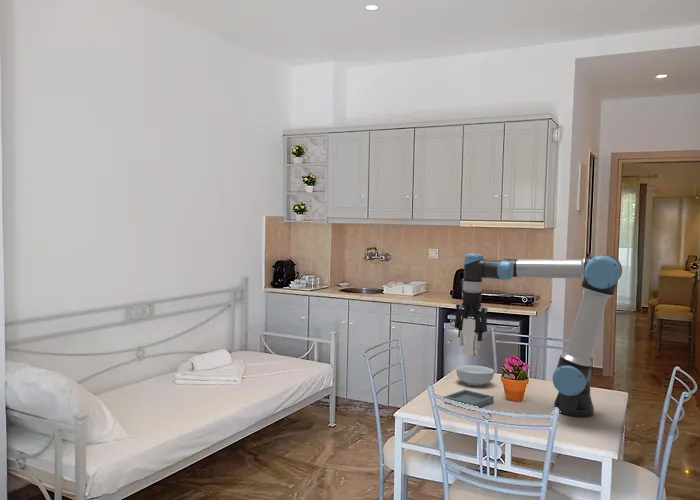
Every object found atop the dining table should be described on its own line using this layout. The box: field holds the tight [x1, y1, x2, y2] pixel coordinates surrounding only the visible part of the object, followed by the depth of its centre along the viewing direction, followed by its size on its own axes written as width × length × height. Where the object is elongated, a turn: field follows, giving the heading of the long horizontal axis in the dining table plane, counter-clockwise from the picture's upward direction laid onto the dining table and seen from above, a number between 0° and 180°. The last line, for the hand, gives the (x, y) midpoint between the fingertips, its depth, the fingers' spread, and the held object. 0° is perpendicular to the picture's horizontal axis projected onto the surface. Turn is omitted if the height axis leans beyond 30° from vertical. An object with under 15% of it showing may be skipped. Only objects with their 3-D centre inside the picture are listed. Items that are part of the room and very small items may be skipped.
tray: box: [443, 389, 495, 408], centre depth 252 cm, size 14×16×2 cm
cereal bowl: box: [456, 364, 495, 387], centre depth 282 cm, size 17×17×7 cm
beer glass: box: [461, 316, 478, 357], centre depth 250 cm, size 7×7×15 cm
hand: (469, 347), depth 250 cm, fingers closed on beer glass, 7 cm apart
